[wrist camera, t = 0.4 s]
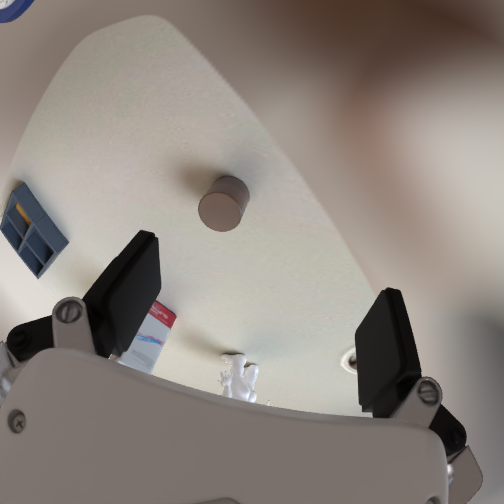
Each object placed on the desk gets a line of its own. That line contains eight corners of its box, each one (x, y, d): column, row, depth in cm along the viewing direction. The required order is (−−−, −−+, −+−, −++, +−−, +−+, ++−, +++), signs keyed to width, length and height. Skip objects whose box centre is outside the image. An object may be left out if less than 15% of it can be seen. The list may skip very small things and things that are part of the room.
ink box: (153, 296, 39) (118, 360, 30) (178, 316, 41) (149, 381, 31) (131, 316, 44) (101, 371, 34) (153, 333, 45) (127, 388, 36)
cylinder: (210, 174, 27) (196, 190, 24) (250, 177, 26) (241, 194, 23) (211, 210, 29) (199, 229, 26) (248, 214, 29) (241, 234, 25)
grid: (9, 220, 37) (-1, 228, 34) (24, 182, 31) (11, 191, 29) (47, 269, 42) (38, 279, 39) (69, 242, 36) (57, 253, 34)
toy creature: (208, 346, 44) (187, 409, 34) (236, 338, 41) (218, 408, 32) (250, 380, 49) (238, 436, 39) (277, 375, 46) (268, 435, 36)
